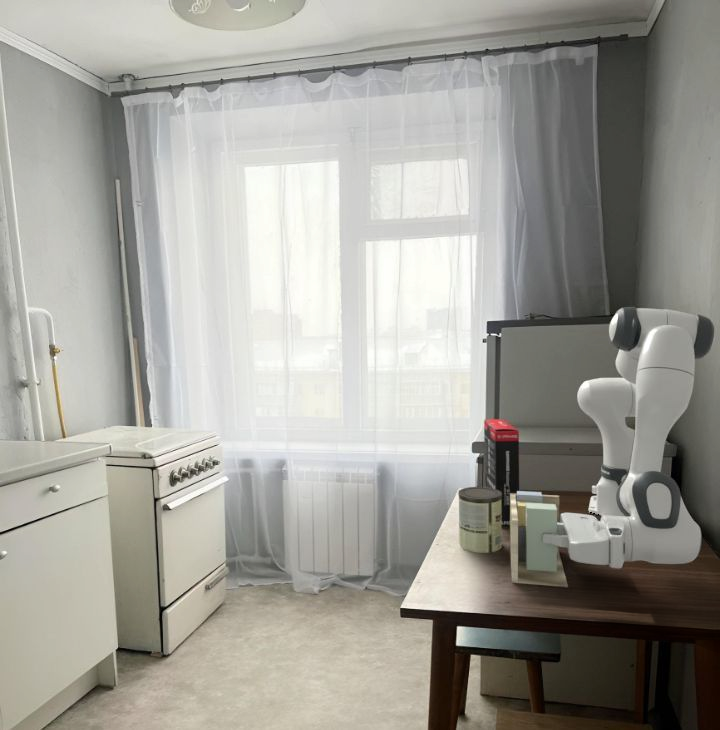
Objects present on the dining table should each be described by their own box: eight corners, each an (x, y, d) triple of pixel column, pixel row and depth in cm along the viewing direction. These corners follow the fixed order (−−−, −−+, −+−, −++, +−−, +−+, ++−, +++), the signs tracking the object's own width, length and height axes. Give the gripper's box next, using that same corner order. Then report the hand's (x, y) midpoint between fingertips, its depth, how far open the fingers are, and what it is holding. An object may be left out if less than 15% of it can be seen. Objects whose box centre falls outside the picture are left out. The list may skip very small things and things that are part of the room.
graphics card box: (521, 531, 154) (521, 428, 152) (494, 531, 154) (494, 428, 153) (506, 510, 171) (506, 418, 170) (482, 511, 171) (482, 418, 170)
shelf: (509, 551, 140) (510, 493, 139) (558, 555, 137) (558, 495, 137) (511, 587, 121) (511, 520, 120) (568, 592, 118) (568, 523, 117)
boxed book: (525, 562, 126) (525, 502, 126) (555, 564, 125) (555, 504, 124) (526, 569, 122) (526, 508, 122) (557, 571, 121) (557, 509, 120)
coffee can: (460, 540, 148) (460, 485, 147) (502, 543, 145) (502, 487, 144) (456, 555, 138) (456, 496, 137) (501, 559, 135) (501, 499, 134)
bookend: (517, 554, 135) (517, 520, 135) (541, 555, 134) (542, 521, 134) (517, 561, 131) (517, 526, 130) (543, 563, 130) (543, 528, 129)
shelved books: (516, 549, 138) (516, 490, 137) (540, 551, 137) (541, 492, 136) (517, 560, 132) (517, 499, 131) (543, 562, 130) (543, 500, 130)
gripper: (603, 507, 130) (538, 504, 133) (622, 539, 110) (545, 534, 113) (602, 535, 130) (538, 531, 134) (621, 572, 111) (545, 566, 114)
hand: (541, 533), depth 123 cm, fingers closed on boxed book, 4 cm apart
